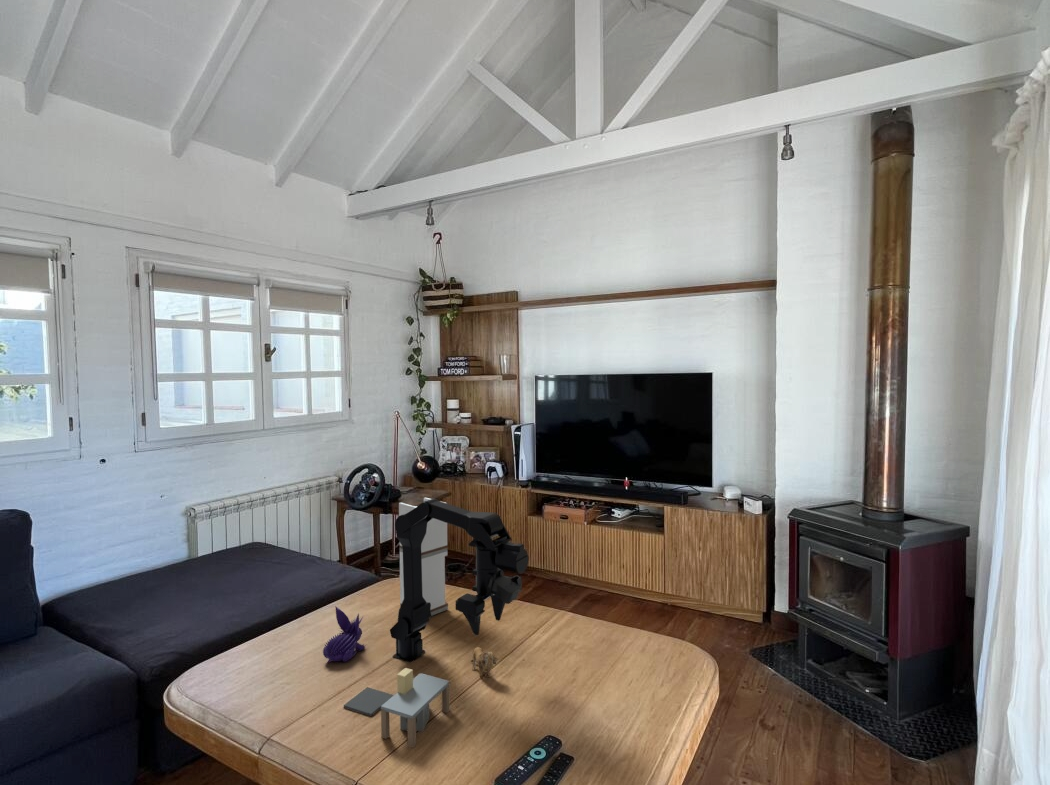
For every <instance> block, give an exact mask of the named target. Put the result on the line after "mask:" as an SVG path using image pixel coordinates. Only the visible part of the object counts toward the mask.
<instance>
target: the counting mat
mask: <svg viewBox="0 0 1050 785" xmlns="http://www.w3.org/2000/svg"><path fill="white" fill-rule="evenodd" d="M394 695H395V694H392V693H389V692H386V691H382V690H379V689H375V688H371V687H368V686H367V687H365V688H364V689H362V691H360V692H359V693H357V694H356V695H355V696H354V697H352V698H351V699H350V700H348V701H347V702H346V703H345V704H343V708H344V709H346V710H350V711H353V712H356V713H359V714H362V715H366V716H368V717H373V716H374V715H375V714H376V713H377V712H379V710H381V706H382V705H383V704H384V703H385V702H386V701H388V700H389V699H390V698H391V697H392V696H394Z"/></svg>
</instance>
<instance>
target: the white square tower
mask: <svg viewBox="0 0 1050 785" xmlns="http://www.w3.org/2000/svg"><path fill="white" fill-rule="evenodd" d="M430 499H431V498H428V497H423V502H424V501H427V500H430ZM441 502H444V501H441ZM444 503H446V502H444ZM418 506H419V505H418ZM418 506H417V505H411V504H407V503H405V502H399V503H398V517H399V516H400V515H403V514H406V513H408V512H410V511H411V510H413V509H415V508H416V507H418ZM398 542H399V541H398ZM445 557H448V523H446V522H443V521H440V520H437V519H434V518H433V519H431V520H430V521H429V522H428V523H427V530H426V535H425V537H424V539H423V541H422V544H421V559H422V595H423V598H424V599H425V601H426V602H430V604H431V608H430V611H431V617H432V616H434V615H437V614H440V613H442V612H446V611H448V610H449V602H448V601H447V602H446V565H445V564H446V558H445ZM399 598H400V599H399V600H400V602H399V604H400V606H401V604H402V602H403V600H404V580H403V547H402V545H401V543H400V542H399Z"/></svg>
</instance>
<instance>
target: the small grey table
mask: <svg viewBox="0 0 1050 785" xmlns="http://www.w3.org/2000/svg"><path fill="white" fill-rule="evenodd" d="M396 685H397V686H396V688H397V689H396V690H397V692H396V693H395V694H393V695H394V696H392V697H391V698H390V699H389V700H388V701H386V702H385V703H384V704H383V705H382V706H381V709H380V719H381V720H380V721H381V723H380V724H381V725H380V726H381V728H380V729H381V731H380V732H381V735H380V736H381V738H382V739H385V740H387V739H388V738H389V737H390V736H391V735H390V733H391V732H390V730H391V729H390V728H391V727H390V713H391V714H393V715H396V716H399V717H400V716H402V717H405V718H407V723H408V730H407V747H409V748H411V749H414V748H415V747H416V746H417V731H416V716H417V715H418V714H419V713H420V712H421V711H422V710H423V709H424V708H425V707H426V706H427V705H428V704H429V705H430V704H431V703H432V702H433V701H434V699H436V698H437V697H438V696H439V695H440V694H441V703H442V704H441V706H442V708H441V709H442V712H443V713H445V714H447V713H449V711H450V701H451V700H450V680H448V679H443V678H440V677H436V676H433V675H429V674H424V673H422V672H420V673H418V674H417V675H416V676H415V677H414V670H413V669H411V668H407V667H405V668H403V669H402V670H401V671H399V672H398V673H397V675H396Z"/></svg>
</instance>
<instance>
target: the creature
mask: <svg viewBox="0 0 1050 785" xmlns="http://www.w3.org/2000/svg"><path fill="white" fill-rule="evenodd" d="M335 617H336V621H337V625H338V626H339V629H340V632H339V633H337V634H334V635H332V637H330V638H329V639H328V640H327V642H325V643H324V646H323V647H324V648H323V650H322V654H323V656H324V658H325V659H328V660H327V662H326V664H329V663H330V662H332V661H333V662H340V661H343V662H348V661H350V660H351V659H352V658H354V656H355V655H356V653H357V652H361V651H363V650H365V647H366V646H367V644H366V645H365V643H363V644H362V643H359V642H358V641H359V640H360V639H361V637H362V634H363V630H362V628H360V624H361V622H362V621H363V618H364V616H362V617H361V618H360V613H357V615H356V617H354V618H353V621H351V620H350V619H349V617H348V616H347V615H346V613H345V612H344V611H342V610H341V609H340V608H339V607H337V606H336V605H335Z"/></svg>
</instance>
